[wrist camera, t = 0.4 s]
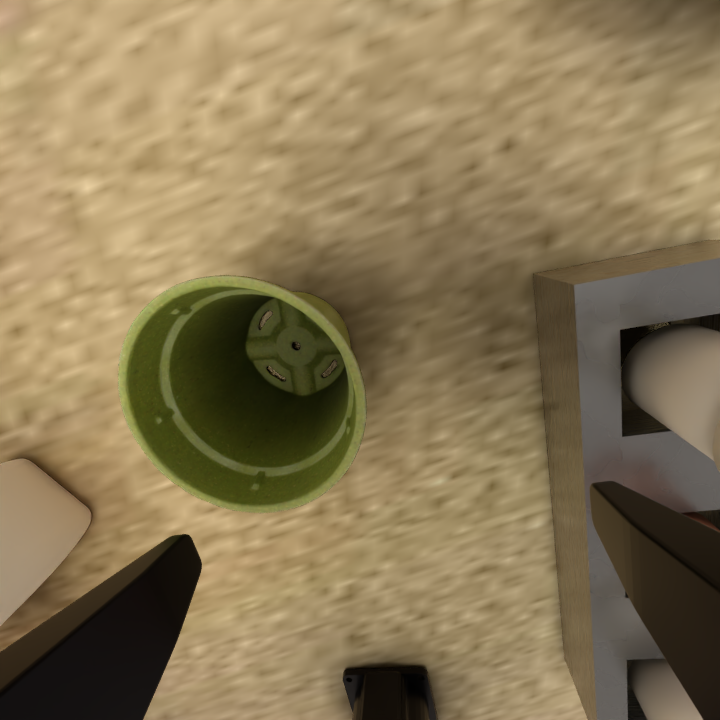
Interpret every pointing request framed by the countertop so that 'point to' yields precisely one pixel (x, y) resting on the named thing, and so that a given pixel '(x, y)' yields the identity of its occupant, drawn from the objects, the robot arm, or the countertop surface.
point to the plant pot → (243, 392)
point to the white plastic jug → (33, 530)
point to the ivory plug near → (679, 382)
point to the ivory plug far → (660, 691)
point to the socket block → (614, 445)
